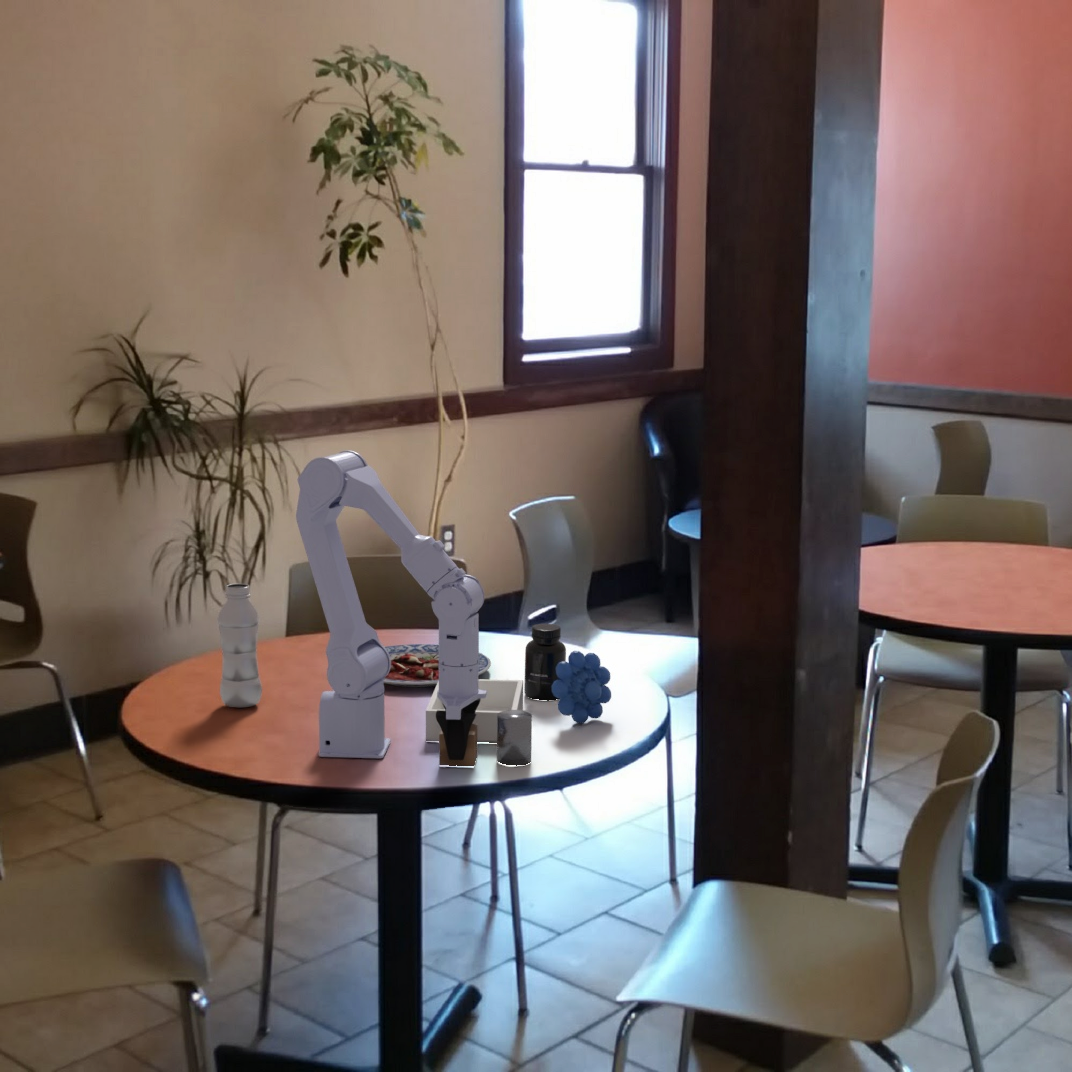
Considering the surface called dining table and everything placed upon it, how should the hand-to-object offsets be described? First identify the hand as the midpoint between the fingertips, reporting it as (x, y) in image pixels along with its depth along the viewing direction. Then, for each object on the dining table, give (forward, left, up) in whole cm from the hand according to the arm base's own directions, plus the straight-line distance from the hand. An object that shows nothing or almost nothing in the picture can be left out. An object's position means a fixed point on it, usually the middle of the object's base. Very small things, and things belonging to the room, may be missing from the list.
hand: (458, 752), depth 204 cm
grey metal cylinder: (+8, +1, -2) cm, 8 cm away
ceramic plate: (-12, +46, -2) cm, 48 cm away
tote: (+1, +17, -1) cm, 17 cm away
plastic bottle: (-38, +24, -2) cm, 45 cm away
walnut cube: (0, 0, -1) cm, 1 cm away
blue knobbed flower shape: (+18, +19, -2) cm, 26 cm away
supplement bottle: (+11, +34, -2) cm, 36 cm away
